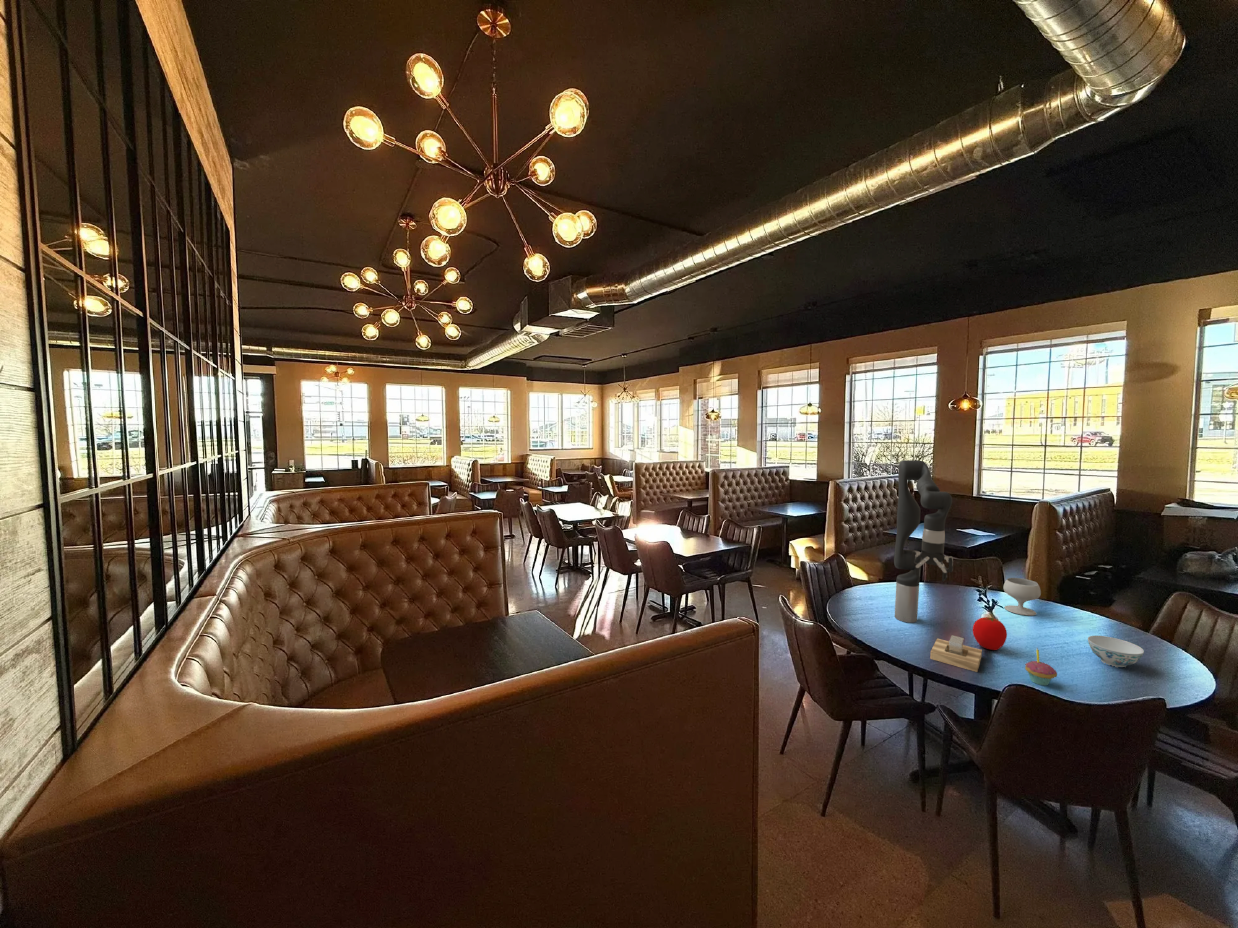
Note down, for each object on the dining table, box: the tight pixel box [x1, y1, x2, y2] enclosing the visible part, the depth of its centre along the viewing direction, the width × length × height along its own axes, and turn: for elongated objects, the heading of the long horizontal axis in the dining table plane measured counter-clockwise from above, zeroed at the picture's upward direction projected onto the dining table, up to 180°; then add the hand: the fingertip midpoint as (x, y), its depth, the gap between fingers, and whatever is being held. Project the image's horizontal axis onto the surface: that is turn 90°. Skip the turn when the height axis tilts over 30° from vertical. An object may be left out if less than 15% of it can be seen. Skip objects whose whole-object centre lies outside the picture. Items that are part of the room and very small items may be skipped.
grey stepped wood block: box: [948, 634, 965, 656], centre depth 189 cm, size 7×4×8 cm, turn 138°
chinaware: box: [1087, 635, 1145, 668], centre depth 184 cm, size 15×15×8 cm
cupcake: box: [1024, 647, 1058, 686], centre depth 171 cm, size 9×8×12 cm
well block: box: [929, 638, 983, 673], centre depth 189 cm, size 15×15×3 cm
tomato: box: [972, 616, 1008, 651], centre depth 196 cm, size 11×11×13 cm
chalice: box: [1002, 577, 1042, 617], centre depth 233 cm, size 14×14×15 cm
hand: (930, 578), depth 195 cm, fingers open, 8 cm apart
